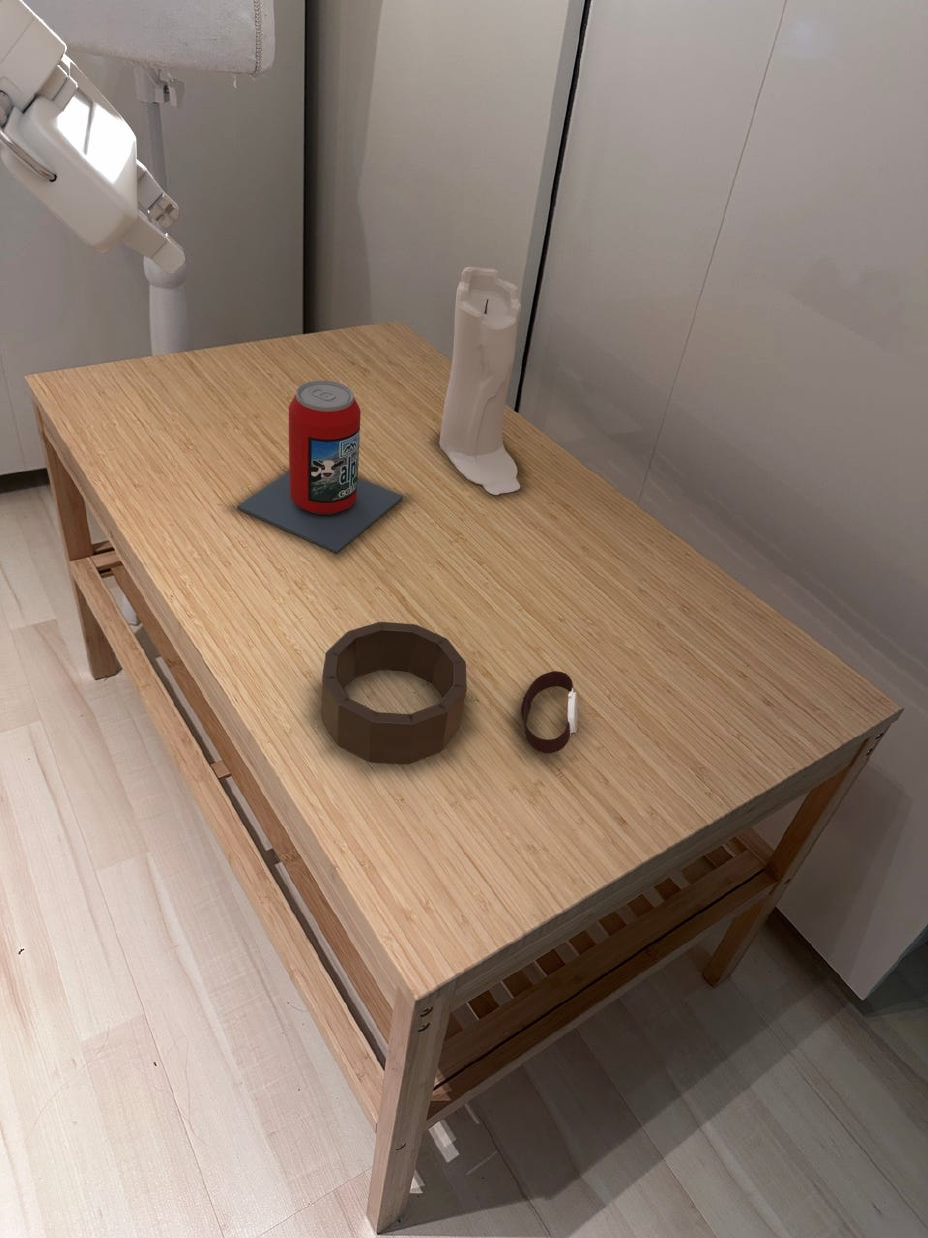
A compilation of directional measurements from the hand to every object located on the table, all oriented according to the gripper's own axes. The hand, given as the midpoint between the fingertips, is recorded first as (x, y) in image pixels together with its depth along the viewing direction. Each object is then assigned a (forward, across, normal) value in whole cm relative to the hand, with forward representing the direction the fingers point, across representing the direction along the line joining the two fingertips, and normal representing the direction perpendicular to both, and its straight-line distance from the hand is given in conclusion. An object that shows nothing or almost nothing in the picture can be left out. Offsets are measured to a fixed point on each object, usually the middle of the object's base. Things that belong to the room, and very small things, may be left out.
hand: (176, 240), depth 64 cm
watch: (+37, -28, +2) cm, 46 cm away
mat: (+28, +5, +11) cm, 30 cm away
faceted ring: (+28, -24, +10) cm, 39 cm away
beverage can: (+28, +4, +11) cm, 30 cm away
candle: (+42, +11, -2) cm, 43 cm away
